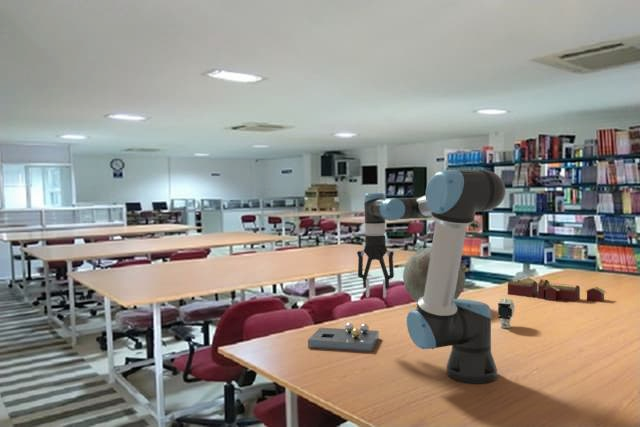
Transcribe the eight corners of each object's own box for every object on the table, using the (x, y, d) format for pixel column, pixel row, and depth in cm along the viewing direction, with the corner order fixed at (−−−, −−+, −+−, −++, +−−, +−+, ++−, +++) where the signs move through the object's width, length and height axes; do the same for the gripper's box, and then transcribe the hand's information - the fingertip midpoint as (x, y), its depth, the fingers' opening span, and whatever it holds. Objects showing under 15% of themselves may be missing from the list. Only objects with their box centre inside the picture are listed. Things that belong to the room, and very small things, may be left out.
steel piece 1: (352, 333, 188) (352, 324, 188) (344, 332, 189) (344, 324, 189) (354, 330, 191) (354, 322, 191) (346, 330, 192) (345, 321, 192)
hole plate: (371, 352, 174) (371, 343, 174) (308, 347, 181) (307, 339, 180) (378, 338, 190) (378, 330, 190) (320, 334, 197) (320, 327, 197)
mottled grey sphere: (391, 307, 243) (390, 247, 242) (428, 297, 262) (427, 243, 261) (440, 317, 220) (440, 252, 219) (477, 306, 239) (476, 246, 238)
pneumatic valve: (497, 330, 198) (497, 301, 198) (501, 323, 208) (501, 295, 208) (512, 331, 196) (512, 302, 195) (515, 324, 206) (515, 296, 205)
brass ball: (359, 339, 180) (359, 330, 180) (350, 338, 181) (350, 329, 181) (361, 336, 183) (361, 327, 183) (352, 335, 184) (352, 327, 184)
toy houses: (505, 295, 265) (505, 277, 265) (519, 289, 280) (519, 272, 280) (598, 307, 235) (598, 286, 234) (607, 299, 250) (607, 280, 249)
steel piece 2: (368, 334, 186) (367, 325, 186) (359, 333, 187) (359, 324, 187) (369, 331, 190) (369, 323, 189) (361, 331, 190) (360, 322, 190)
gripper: (401, 233, 180) (402, 295, 180) (352, 233, 185) (353, 293, 186) (399, 235, 172) (400, 299, 173) (348, 235, 177) (349, 297, 178)
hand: (376, 296), depth 179 cm, fingers open, 6 cm apart
